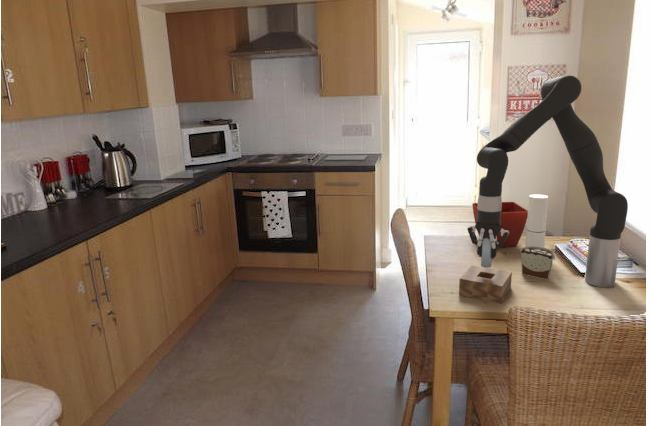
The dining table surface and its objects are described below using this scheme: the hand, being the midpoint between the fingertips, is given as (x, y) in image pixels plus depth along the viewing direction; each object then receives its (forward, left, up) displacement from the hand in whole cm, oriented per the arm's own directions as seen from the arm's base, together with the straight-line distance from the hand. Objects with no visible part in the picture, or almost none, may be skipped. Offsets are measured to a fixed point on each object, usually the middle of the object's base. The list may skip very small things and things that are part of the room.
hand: (486, 256), depth 161 cm
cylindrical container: (-8, -46, -13) cm, 48 cm away
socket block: (0, 0, -13) cm, 13 cm away
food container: (-13, -24, -13) cm, 30 cm away
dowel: (0, 0, -3) cm, 3 cm away
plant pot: (+9, -55, -13) cm, 57 cm away
